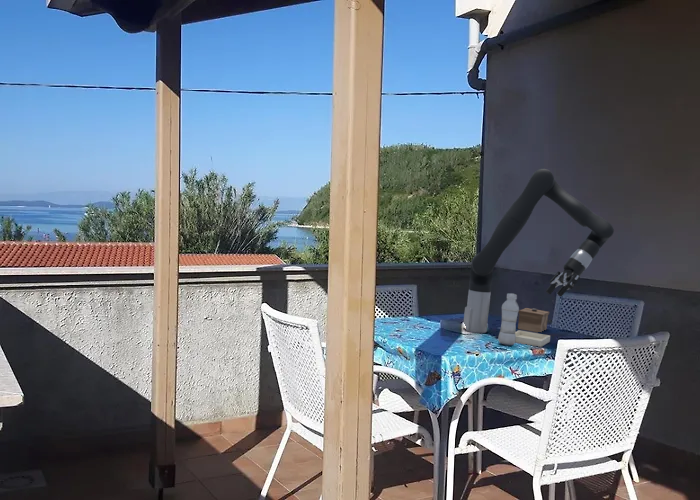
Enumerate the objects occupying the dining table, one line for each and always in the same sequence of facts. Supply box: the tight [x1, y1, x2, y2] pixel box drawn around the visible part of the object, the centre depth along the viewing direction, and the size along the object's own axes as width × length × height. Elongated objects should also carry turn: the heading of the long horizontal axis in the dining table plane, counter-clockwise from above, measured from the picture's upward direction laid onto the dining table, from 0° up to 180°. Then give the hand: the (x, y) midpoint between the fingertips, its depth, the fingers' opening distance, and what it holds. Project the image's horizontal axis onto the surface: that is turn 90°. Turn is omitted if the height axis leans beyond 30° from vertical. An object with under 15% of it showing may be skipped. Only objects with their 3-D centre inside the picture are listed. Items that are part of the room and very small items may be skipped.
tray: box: [514, 329, 551, 348], centre depth 274 cm, size 16×13×2 cm
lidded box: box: [517, 307, 550, 333], centre depth 304 cm, size 13×11×9 cm
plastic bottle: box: [498, 292, 520, 346], centre depth 262 cm, size 6×7×20 cm
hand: (553, 294), depth 267 cm, fingers open, 8 cm apart
